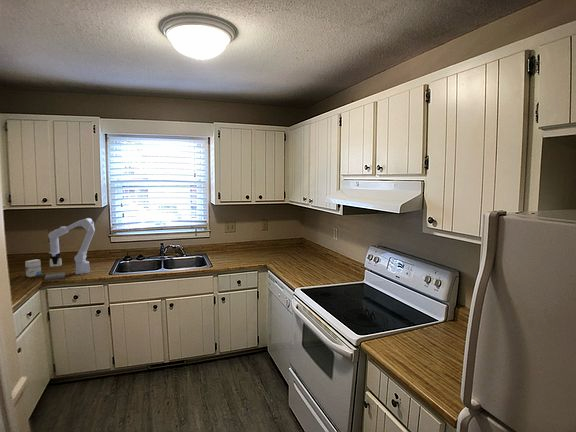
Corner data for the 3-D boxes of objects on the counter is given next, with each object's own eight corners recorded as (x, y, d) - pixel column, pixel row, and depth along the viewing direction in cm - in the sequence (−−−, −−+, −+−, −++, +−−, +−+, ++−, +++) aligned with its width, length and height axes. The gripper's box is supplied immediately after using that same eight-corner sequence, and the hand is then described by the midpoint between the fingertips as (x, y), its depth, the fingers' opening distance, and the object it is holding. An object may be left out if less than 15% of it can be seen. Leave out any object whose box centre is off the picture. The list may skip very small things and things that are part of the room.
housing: (61, 264, 272) (61, 258, 272) (60, 265, 268) (60, 259, 267) (51, 265, 269) (50, 259, 269) (49, 266, 265) (49, 260, 264)
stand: (65, 274, 267) (64, 272, 267) (63, 278, 258) (63, 275, 258) (46, 276, 261) (46, 274, 261) (44, 280, 253) (44, 277, 252)
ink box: (38, 273, 270) (37, 258, 269) (41, 274, 268) (40, 259, 266) (25, 276, 263) (24, 261, 261) (29, 277, 260) (28, 262, 259)
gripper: (50, 245, 272) (51, 261, 273) (46, 248, 259) (48, 266, 260) (60, 244, 275) (61, 260, 276) (57, 247, 262) (59, 265, 263)
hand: (55, 263), depth 268 cm, fingers closed on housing, 5 cm apart
